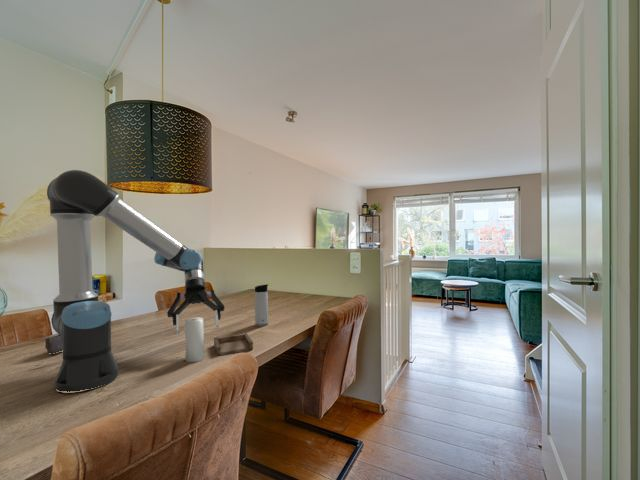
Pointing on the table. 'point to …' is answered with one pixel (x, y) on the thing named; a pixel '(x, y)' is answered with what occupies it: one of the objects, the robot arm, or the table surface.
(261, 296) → the travel mug
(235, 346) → the tray
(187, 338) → the paper roll
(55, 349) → the perforated stone tool
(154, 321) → the table surface
